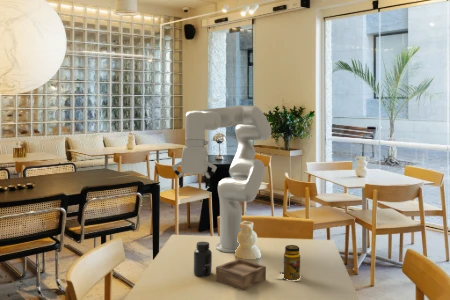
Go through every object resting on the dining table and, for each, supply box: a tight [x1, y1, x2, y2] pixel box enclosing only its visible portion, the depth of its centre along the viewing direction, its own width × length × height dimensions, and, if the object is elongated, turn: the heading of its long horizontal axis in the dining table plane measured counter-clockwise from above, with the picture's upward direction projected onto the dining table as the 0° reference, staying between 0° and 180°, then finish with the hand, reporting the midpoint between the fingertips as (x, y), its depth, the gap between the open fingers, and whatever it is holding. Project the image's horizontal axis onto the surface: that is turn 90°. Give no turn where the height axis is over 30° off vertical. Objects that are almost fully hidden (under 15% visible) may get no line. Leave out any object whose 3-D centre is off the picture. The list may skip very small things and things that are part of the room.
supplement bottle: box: [193, 241, 213, 277], centre depth 187 cm, size 7×7×12 cm
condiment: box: [279, 244, 303, 280], centre depth 184 cm, size 7×8×12 cm
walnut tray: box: [215, 258, 267, 291], centre depth 181 cm, size 13×13×5 cm
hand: (194, 187), depth 191 cm, fingers open, 9 cm apart
